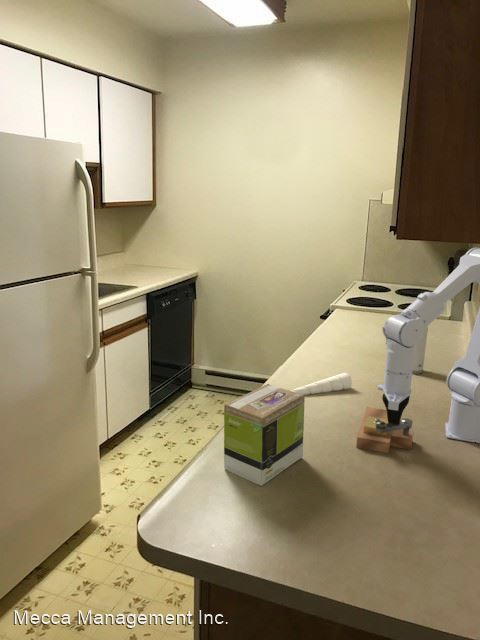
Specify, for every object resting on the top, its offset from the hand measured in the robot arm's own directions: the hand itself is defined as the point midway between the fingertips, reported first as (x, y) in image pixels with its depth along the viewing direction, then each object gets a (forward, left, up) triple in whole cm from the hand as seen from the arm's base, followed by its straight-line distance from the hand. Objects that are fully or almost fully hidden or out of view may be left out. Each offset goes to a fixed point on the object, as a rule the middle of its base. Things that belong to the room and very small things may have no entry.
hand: (393, 425), depth 113 cm
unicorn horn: (+22, -24, -5) cm, 33 cm away
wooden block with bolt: (+4, -1, -2) cm, 4 cm away
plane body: (+1, -4, -5) cm, 7 cm away
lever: (0, +1, 0) cm, 1 cm away
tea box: (+24, +20, -5) cm, 32 cm away
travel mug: (-3, -55, -5) cm, 56 cm away
